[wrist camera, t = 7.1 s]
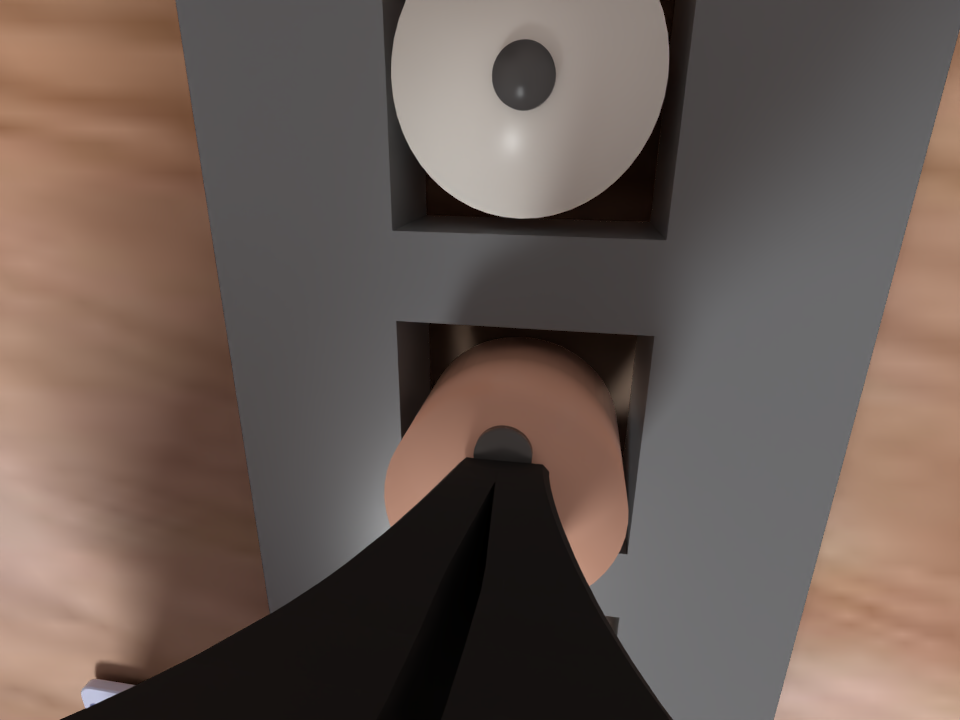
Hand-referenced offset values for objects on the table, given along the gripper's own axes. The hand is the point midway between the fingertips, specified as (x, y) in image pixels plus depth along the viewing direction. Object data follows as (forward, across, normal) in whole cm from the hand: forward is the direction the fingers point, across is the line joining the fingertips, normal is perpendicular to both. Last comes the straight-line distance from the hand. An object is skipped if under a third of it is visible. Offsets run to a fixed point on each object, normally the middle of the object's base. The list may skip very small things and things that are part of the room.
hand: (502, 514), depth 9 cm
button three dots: (+3, 0, 0) cm, 3 cm away
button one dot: (+5, 0, -6) cm, 8 cm away
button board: (+5, 0, 0) cm, 5 cm away
